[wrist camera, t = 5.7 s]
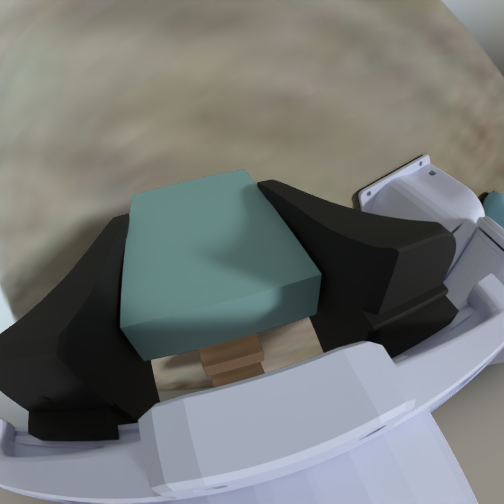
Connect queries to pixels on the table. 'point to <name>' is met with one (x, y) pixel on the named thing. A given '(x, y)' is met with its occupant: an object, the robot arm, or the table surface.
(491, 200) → the teapot
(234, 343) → the domino
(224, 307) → the placed domino
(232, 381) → the domino
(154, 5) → the table surface
